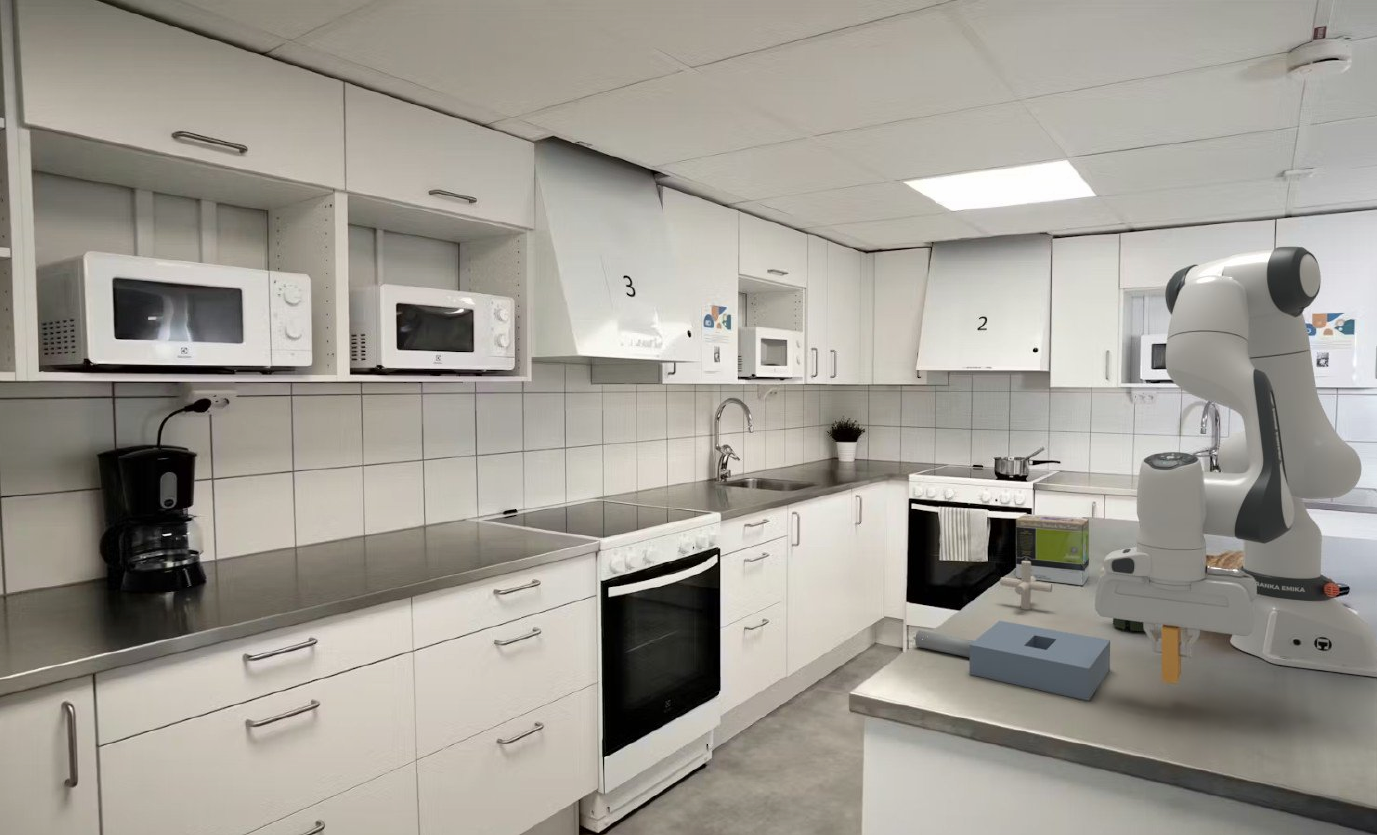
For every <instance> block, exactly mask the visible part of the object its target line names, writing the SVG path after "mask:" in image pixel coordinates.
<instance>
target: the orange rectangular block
mask: <svg viewBox="0 0 1377 835" xmlns="http://www.w3.org/2000/svg"><path fill="white" fill-rule="evenodd" d="M1161 639H1162V653H1161V682H1162V683H1163V682H1164V683H1169V684H1175V685H1178V684H1179V682H1180V681H1179V680H1180V678H1181V676H1182V675H1181V674H1182V657H1181V656H1179V643H1180V642H1182V627H1174V626H1167V625H1161Z"/></svg>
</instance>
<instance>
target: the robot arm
mask: <svg viewBox="0 0 1377 835" xmlns="http://www.w3.org/2000/svg"><path fill="white" fill-rule="evenodd" d="M1321 280H1322V279H1321V270H1320V266H1319V263H1318V260H1317V258H1316V257H1315V255H1314V254H1313V253H1312V252H1310V251H1309V250H1307V249H1306V248H1305V247H1302V246H1278V247H1275V249H1266V250H1265V249H1264V250H1256V251H1248V252H1241V253H1236V254H1232V255H1231V256H1227V257H1223V258H1222V257H1221V258H1218V259H1215V260H1211V261H1208V262H1204V263H1201V264H1192V265H1188V266H1187V267H1184V268H1182V269H1179V270H1178V271H1176V272H1174V273H1173V275H1172V276H1171V277H1170V279H1169V280H1168V282H1167V284H1166V287H1165V294H1164V295H1165V304H1166V307H1167V310H1168V312H1169V313H1170V315H1171V317H1170V321H1169V326H1168V331H1167V339H1166V346H1165V369H1166V373H1167V374H1168V377H1169V379H1171V381H1172V382H1173V383H1174V384H1175V385H1176V386H1177V387H1178V388H1180V389H1181V390H1183V391H1184V392H1186V393H1188V394H1190V395H1191V396H1194V397H1197V398H1199V399H1201V400H1204V401H1208V402H1210V403H1214V404H1217V405H1220V406H1223V407H1226V408H1228V409H1231V410H1233V411H1235V413H1237V414H1239V415H1240V417H1241V418H1242V420H1243V424H1244V431H1240V432H1237V433H1234V434H1231V435H1229V436H1228V437H1226V438H1225V439H1224V440H1223V441H1222V443H1221V444H1220V446H1219V448H1218V451H1217V463H1218V466H1219V469H1220V471H1221V472H1218V471H1216V472H1215V471H1204V470H1203V466H1202V463H1201V459H1200V458H1199V457H1197V455H1194V454H1190V453H1187V452H1178V451H1177V452H1176V451H1172V452H1171V451H1168V452H1166V451H1165V452H1160V453H1153V454H1151V455H1149V456H1147V457H1145V458H1144V459H1142V462H1141V464H1140V468H1139V473H1138V480H1137V489H1136V490H1137V491H1136V516H1137V518H1138V521H1139V531H1138V534H1137V537H1136V546H1134V547H1127V548H1123V549H1117V550H1113V551H1111V552H1110V553H1107V555H1106V556H1105V557H1104V560H1103V564H1102V565H1103V568H1104V570H1105V572H1104V573H1103V574H1102V575H1101V574H1100V577H1099V578H1098V580H1097V584H1096V590H1095V599H1094V600H1095V601H1094V607H1095V609H1094V610H1095V611H1096V613H1097V614H1098V615H1099V616H1100V617H1104V618H1112V619H1113V618H1116V619H1124V620H1131V621H1138V622H1143V625H1144V632H1145V634H1146V636H1147V637H1148V638H1149V640H1150V642H1151V651H1152V653H1156V654H1162V638H1159V637H1158V635H1157V633H1156V631H1155V629H1156V626H1157V625H1161V626H1163V625H1167V626H1174V627H1181V629H1182V628H1183V629H1187V635H1188V636H1190V637H1189V638H1188V639H1187V641H1186V642H1185V641H1181V642H1180V643H1179V656H1181V658H1182V657H1183V658H1189V659H1190V658H1191V657H1192V646H1193V645H1194V644H1195V642H1197V640H1198V638H1199V637H1200V634H1201V631H1203V632H1204V631H1206V632H1213V633H1219V634H1225V635H1226V634H1227V635H1232V636H1231V638H1230V640H1229V641H1230V644H1231V645H1232V646H1233V647H1235V648H1236V649H1237V650H1241V651H1242V652H1245V653H1248V654H1251V655H1253V656H1256V657H1259V658H1261V659H1263V660H1264V661H1266V662H1269V663H1271V664H1273V665H1281V666H1287V667H1294V668H1303V669H1311V670H1319V671H1327V672H1333V673H1334V672H1335V673H1342V674H1348V675H1349V674H1350V675H1358V676H1367V677H1372V678H1373V677H1374V678H1377V639H1376V635H1375V632H1374V631H1373V629H1372V627H1371V626H1370V625H1369V623H1368V622H1367V621H1365V620H1364V619H1363V618H1362V617H1360V616H1359V615H1357V614H1356V613H1355V612H1353V611H1352V610H1350V608H1348V607H1347V606H1345V605H1344V604H1342V603H1341V602H1340V601H1338V600H1337V599H1336V598H1335V597H1337V595H1338V596H1339V595H1340V588H1339V585H1337V584H1336V582H1335V581H1334V580H1333V579H1332V578H1331V577H1329V578H1328V577H1327V576H1326V575H1323V574H1321V572H1322V570H1321V569H1322V541H1323V535H1322V531H1321V529H1320V526H1319V525H1318V524H1317V523H1316V522H1315V521H1314V520H1313V518H1312V517H1311V516H1310V514H1309V513H1308V510H1307V508H1306V506H1305V503H1304V499H1306V500H1323V499H1325V500H1326V499H1332V498H1333V499H1334V498H1341V497H1342V496H1345V495H1347V494H1349V493H1350V492H1352V490H1353V489H1354V488H1355V487H1356V486H1357V485H1358V483H1359V481H1360V479H1361V475H1362V467H1363V466H1362V462H1361V459H1360V456H1359V454H1358V453H1357V452H1356V450H1355V449H1354V448H1353V447H1352V446H1350V445H1349V444H1348V443H1347V442H1346V441H1344V439H1342V437H1340V436H1341V435H1340V436H1339V434H1338V432H1337V431H1336V430H1335V428H1334V427H1333V424H1331V421H1330V419H1329V417H1328V416H1327V413H1326V412H1325V410H1324V408H1323V405H1322V403H1321V400H1320V398H1319V397H1320V396H1319V394H1318V392H1317V385H1316V379H1315V374H1314V366H1313V360H1312V359H1313V358H1312V350H1311V344H1310V337H1309V331H1308V328H1307V327H1308V326H1307V324H1306V320H1305V318H1304V315H1303V312H1304V311H1305V309H1307V308H1308V307H1310V306H1311V304H1312V303H1313V302H1314V301H1315V299H1316V298H1317V296H1318V295H1319V292H1320V289H1321V283H1322V282H1321ZM1205 535H1209V536H1218V537H1228V538H1236V539H1238V540H1243V548H1242V549H1243V554H1242V556H1243V559H1242V565H1241V567H1240V568H1225V567H1220V566H1218V567H1217V566H1210V565H1207V541H1206V538H1205Z"/></svg>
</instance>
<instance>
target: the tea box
mask: <svg viewBox="0 0 1377 835" xmlns="http://www.w3.org/2000/svg"><path fill="white" fill-rule="evenodd" d="M1089 522H1090V521H1089V518H1086V517H1073V516H1060V515H1047V514H1046V515H1045V514H1033V513H1032V514H1031V513H1030V514H1029V513H1024V514H1023V515H1021V516H1020V517H1017V519H1015V568H1016V569H1015V571H1016V573H1015V574H1016V579H1021V570H1022V561H1030V562H1031V576H1033V577H1035V578H1036V580H1037V581H1042V582H1052V583H1060V584H1068V585H1076V586H1077V585H1078V586H1084V585H1085V583H1086V582H1087V581H1088V579H1089V576H1090V575H1089V574H1090V572H1089V571H1090V523H1089Z"/></svg>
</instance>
